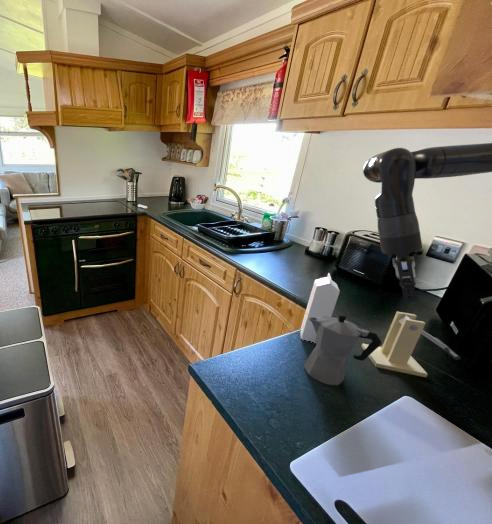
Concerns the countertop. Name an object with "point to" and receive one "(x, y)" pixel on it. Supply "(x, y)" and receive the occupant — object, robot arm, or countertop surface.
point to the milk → (319, 305)
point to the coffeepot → (335, 348)
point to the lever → (436, 341)
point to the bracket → (399, 346)
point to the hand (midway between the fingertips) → (408, 295)
